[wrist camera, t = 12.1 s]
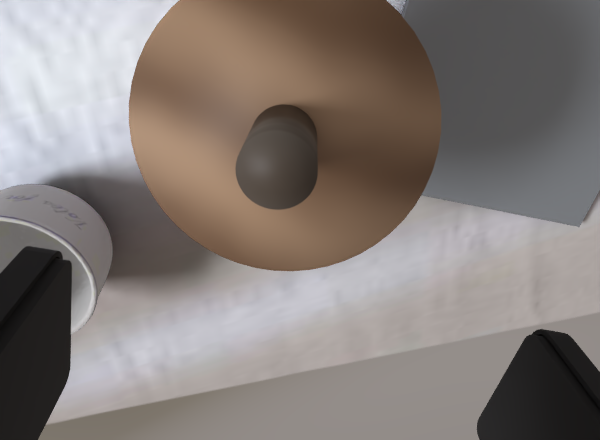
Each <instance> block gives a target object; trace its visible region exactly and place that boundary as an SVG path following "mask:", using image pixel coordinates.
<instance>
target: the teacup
mask: <svg viewBox="0 0 600 440" xmlns="http://www.w3.org/2000/svg"><path fill="white" fill-rule="evenodd" d="M26 246H32V247H39V248H45V249H51V250H57V251H60V252H61V253H62V256H63V260H69V261H71V263H72V297H71V335H72V334H73V333H75V332H76V331H78V330H80V329H81V328H82V327H83V326H84V325H85V324H86V323H87V322H88V320H89V319H90V318H91V316H92V315H93V312H94V310H95V307H96V303H97V299H98V296H99V294H100V292H101V290H102V288H103V285H104V283H105V281H106V278H107V276H108V273H109V270H110V266H111V262H112V256H113V246H112V240H111V236H110V233H109V230H108V228H107V226H106V224H105V222H104V221H103V219H102V218H101V216H100V215H99V214H98V213H97V212H96V211H95V210H94V209H93V208H92V207H91V206H90V205H89V204H88V203H86V202H85V201H84V200H82V199H81V198H79V197H78V196H76V195H74V194H72V193H70V192H68V191H65V190H63V189H60V188H56V187H53V186H48V185H40V184H25V185H17V186H12V187H9V188H6V189H3V190H1V191H0V273H1V272H2V271H3V270H4V269H5V268H6V267H7V265H8V264H9V263H10V262H11V261H12V260H13V259H14V258H15V257H16V256H17V254H18V253H19V252H20V251H21V250H22V249H23V248H24V247H26Z"/></svg>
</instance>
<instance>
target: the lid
mask: <svg viewBox="0 0 600 440" xmlns="http://www.w3.org/2000/svg"><path fill="white" fill-rule="evenodd" d="M129 126H130V134H131V142H132V146H133V150H134V154H135V157H136V161H137V164H138V166H139V169H140V171H141V174H142V176H143V179H144V181H145V183H146V185H147V186H148V188H149V190H150V192H151V194H152V195H153V197H154V198H155V200H156V201H157V203H158V204H159V205H160V207H161V208H162V210H163V211H164V212H165V213H166V214H167V216H168V217H169V218H170V219H171V220H172V221H173V222H174V223H175V224H176V225H177V226H178V227H179V228H180V229H181V230H182V231H183V232H185V233H186V234H187V235H188V236H189V237H190V238H192V239H193V240H195V241H196V242H198V243H199V244H201V245H202V246H204V247H205V248H207V249H208V250H210V251H212V252H214V253H216V254H218V255H220V256H222V257H224V258H227V259H229V260H232V261H234V262H237V263H240V264H244V265H247V266H251V267H255V268H261V269H267V270H274V271H300V270H311V269H316V268H321V267H326V266H330V265H333V264H336V263H339V262H342V261H345V260H347V259H349V258H352V257H354V256H356V255H358V254H361V253H362V252H364V251H366V250H367V249H369V248H371V247H372V246H374V245H376V244H377V243H378V242H379V241H381V240H382V239H383V238H385V237H386V236H387V235H389V234H390V233H391V232H392V231H393V230H394V229H395V228H396V227H397V226H398V225H399V224H400V223H401V222H402V221H403V220H404V219H405V217H406V216H407V215H408V214H409V212H410V211H411V210H412V209H413V207H414V206H415V204H416V203H417V201H418V199H419V198H420V196H421V194H422V193H423V191H424V189H425V187H426V185H427V183H428V180H429V178H430V176H431V174H432V171H433V168H434V164H435V161H436V158H437V154H438V149H439V143H440V136H441V104H440V96H439V89H438V86H437V82H436V78H435V74H434V70H433V68H432V65H431V63H430V61H429V58H428V56H427V53H426V51H425V49H424V47H423V46H422V44H421V42H420V41H419V39H418V37H417V35H416V34H415V32H414V31H413V29H412V28H411V27H410V25H409V24H408V23H407V22H406V20H405V19H404V18H403V17H402V15H401V14H400V13H399V12H398V11H397V10H396V9H395V8H394V7H393V6H392V5H390V4H389V3H388V2H387V1H386V0H180V1H178V2H177V3H176V4H175V5H174V6H173V7H172V8H171V9H170V10H169V11H168V12H167V14H166V15H165V16H164V17H163V18H162V19H161V21H160V22H159V23H158V24H157V26H156V27H155V29H154V31H153V32H152V34H151V35H150V37H149V39H148V40H147V42H146V44H145V46H144V48H143V51H142V53H141V55H140V58H139V60H138V62H137V66H136V69H135V73H134V77H133V80H132V85H131V93H130V100H129Z"/></svg>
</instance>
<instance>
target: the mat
mask: <svg viewBox="0 0 600 440" xmlns="http://www.w3.org/2000/svg"><path fill="white" fill-rule="evenodd" d="M402 17H403V18H404V19H405V20H406V22H407V23H408V24H409V25H410V27H411V28H412V29H413V31H414V32H415V34H416V35H417V37H418V39H419V41H420V42H421V44H422V46H423V47H424V49H425V51H426V53H427V56H428V58H429V61H430V63H431V65H432V68H433V70H434V74H435V78H436V82H437V86H438V89H439V96H440V104H441V136H440V143H439V149H438V154H437V158H436V161H435V164H434V168H433V171H432V174H431V176H430V178H429V180H428V183H427V185H426V187H425V189H424V191H423V193H422V194H421V195H423V196H428V197H433V198H438V199H443V200H448V201H453V202H458V203H463V204H468V205H473V206H478V207H483V208H488V209H493V210H498V211H503V212H508V213H513V214H518V215H523V216H527V217H532V218H537V219H542V220H547V221H552V222H557V223H562V224H567V225H572V226H577V227H580V225H581V223H582V221H583V219H584V218H585V216H586V214H587V212H588V210H589V209H590V207H591V205H592V203H593V202H594V200H595V198H596V196H597V194H598V193H599V191H600V0H406V2H405V5H404V8H403V12H402Z"/></svg>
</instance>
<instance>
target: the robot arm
mask: <svg viewBox="0 0 600 440" xmlns="http://www.w3.org/2000/svg"><path fill="white" fill-rule="evenodd" d="M71 297H72V263H71V261H69V260H63V256H62V253H61V252H60V251H57V250H51V249H45V248H39V247H32V246H26V247H24V248H23V249H22V250H21V251H20V252H19V253H18V254H17V256H16V257H15V258H14V259H13V260H12V261H11V262H10V263H9V264H8V265H7V267H6V268H5V269H4V270H3V271H2V272H1V273H0V440H38V438H39V436H40V434H41V432H42V430H43V428H44V426H45V425H46V423H47V421H48V419H49V417H50V415H51V413H52V411H53V409H54V407H55V405H56V403H57V401H58V399H59V397H60V395H61V393H62V391H63V389H64V387H65V385H66V382H67V379H68V376H69V371H70V354H71ZM477 433H478V436H479V439H480V440H600V372H599V371H598V369H597V368H596V367H595V366H594V364H593V363H592V362H591V361H590V359H589V358H588V357H587V356H586V355H585V353H584V352H583V351H582V350H581V348H580V347H579V346H578V345H577V343H576V342H575V341H574V340H573V339H572V338H571V337H570V336H569V335H568V334H565V333H561V332H555V331H549V330H543V329H540V330H536V331H535V332H533V334H532V335H529V336H527V337H526V338H525V339H524V341H523V343H522V344H521V346H520V348H519V350H518V351H517V353H516V355H515V357H514V358H513V360H512V362H511V364H510V365H509V367H508V369H507V371H506V372H505V374H504V376H503V377H502V379H501V381H500V383H499V385H498V386H497V388H496V390H495V391H494V393H493V395H492V397H491V399H490V400H489V402H488V403H487V405H486V407H485V409H484V410H483V412H482V414H481V416H480V417H479V420H478V423H477Z"/></svg>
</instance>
